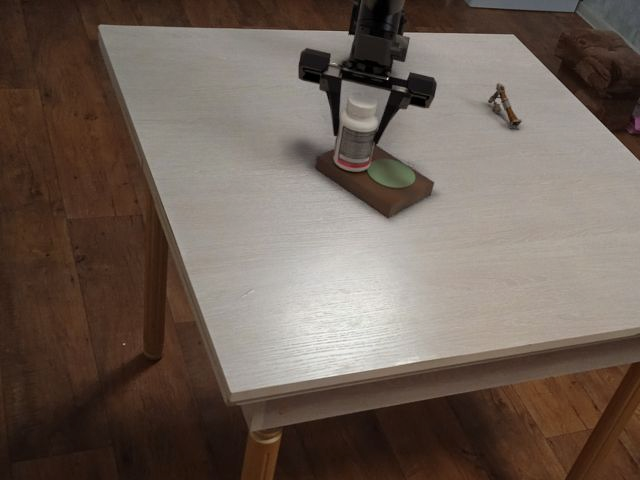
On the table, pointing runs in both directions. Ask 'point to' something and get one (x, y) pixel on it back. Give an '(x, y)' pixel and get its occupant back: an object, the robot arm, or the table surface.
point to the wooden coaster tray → (379, 181)
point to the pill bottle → (356, 133)
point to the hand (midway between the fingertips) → (355, 139)
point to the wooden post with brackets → (506, 104)
